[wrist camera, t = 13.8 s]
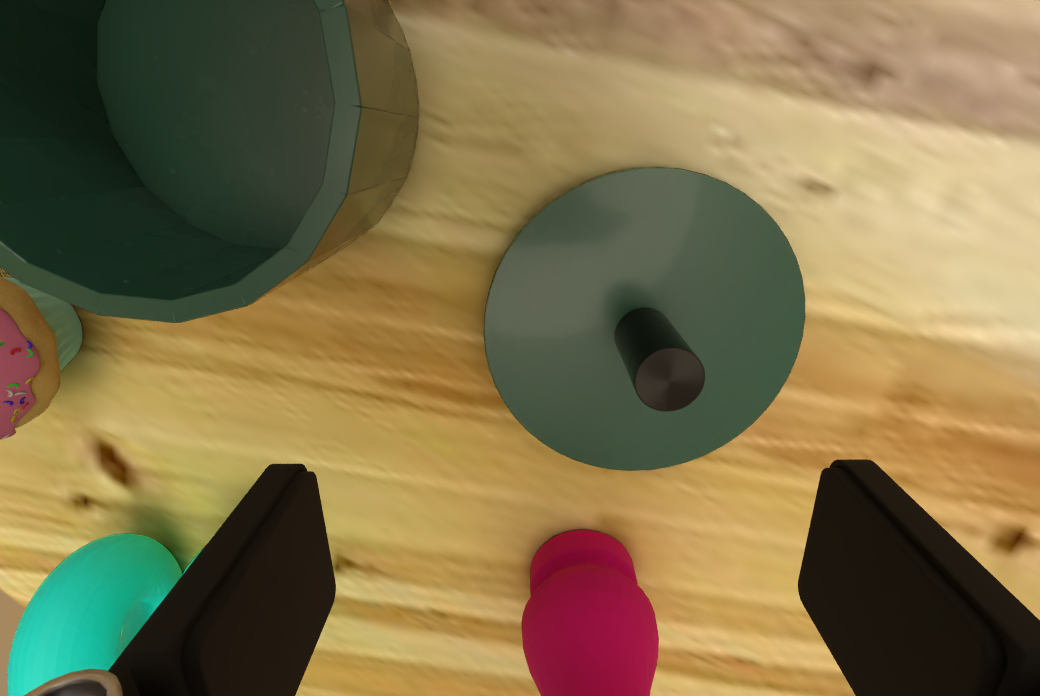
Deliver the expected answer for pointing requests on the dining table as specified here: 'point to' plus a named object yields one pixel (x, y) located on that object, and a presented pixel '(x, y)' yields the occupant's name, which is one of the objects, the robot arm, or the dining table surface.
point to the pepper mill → (588, 620)
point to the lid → (644, 318)
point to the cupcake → (32, 350)
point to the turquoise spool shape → (90, 609)
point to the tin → (195, 145)
